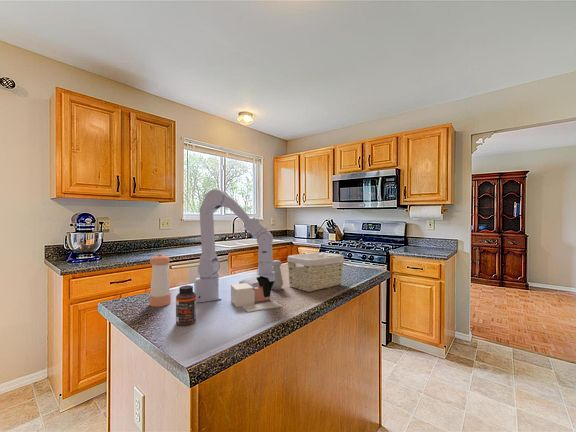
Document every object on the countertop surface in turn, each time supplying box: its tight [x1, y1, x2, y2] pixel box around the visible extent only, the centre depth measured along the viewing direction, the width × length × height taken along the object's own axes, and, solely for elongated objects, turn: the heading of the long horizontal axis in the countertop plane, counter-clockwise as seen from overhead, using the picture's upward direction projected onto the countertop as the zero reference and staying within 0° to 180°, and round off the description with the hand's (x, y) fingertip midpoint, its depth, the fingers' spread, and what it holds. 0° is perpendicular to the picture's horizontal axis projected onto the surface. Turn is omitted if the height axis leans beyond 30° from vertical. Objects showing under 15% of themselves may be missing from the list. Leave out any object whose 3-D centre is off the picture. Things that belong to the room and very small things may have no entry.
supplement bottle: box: [175, 284, 197, 327], centre depth 86 cm, size 6×6×11 cm
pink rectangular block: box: [254, 286, 271, 303], centre depth 108 cm, size 11×2×5 cm, turn 116°
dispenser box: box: [230, 283, 256, 308], centre depth 106 cm, size 7×8×6 cm
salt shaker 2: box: [271, 259, 284, 291], centre depth 125 cm, size 6×6×13 cm
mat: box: [241, 300, 282, 313], centre depth 101 cm, size 13×6×1 cm, turn 116°
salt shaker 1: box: [149, 253, 172, 308], centre depth 105 cm, size 7×7×19 cm
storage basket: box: [287, 251, 345, 293], centre depth 130 cm, size 24×16×15 cm
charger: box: [238, 277, 260, 287], centre depth 125 cm, size 5×9×15 cm
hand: (265, 295), depth 110 cm, fingers closed on pink rectangular block, 2 cm apart
